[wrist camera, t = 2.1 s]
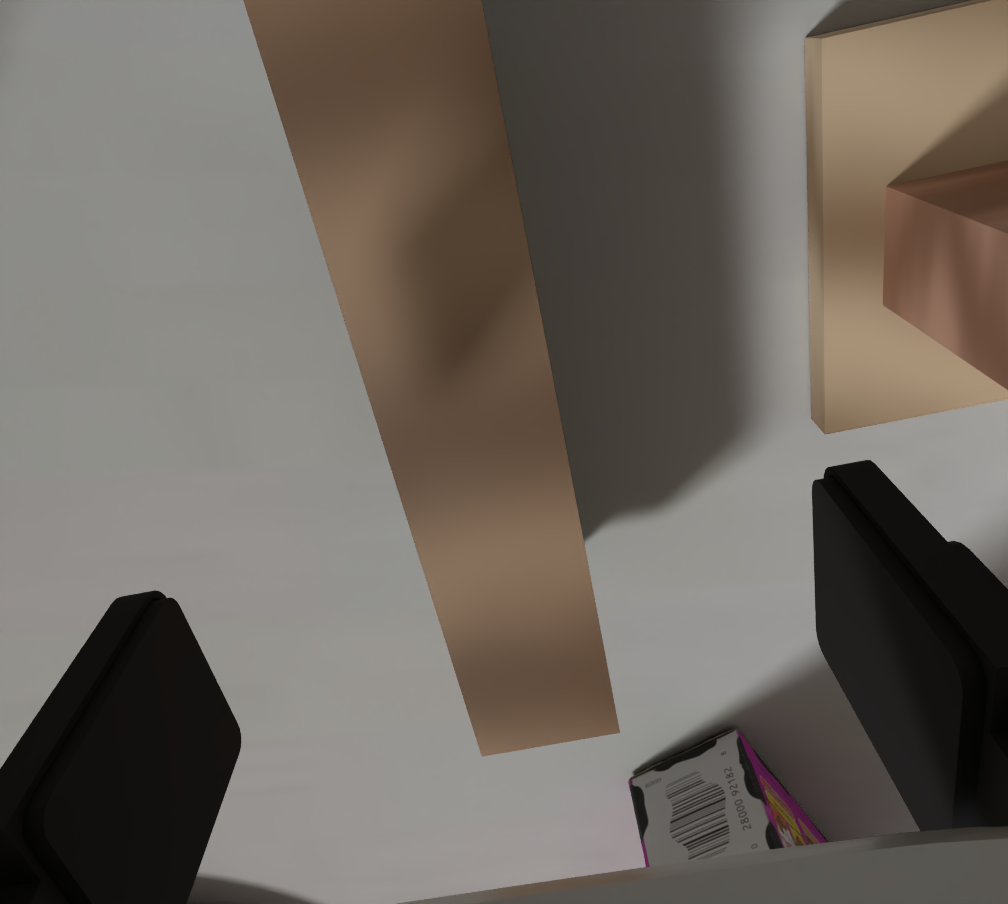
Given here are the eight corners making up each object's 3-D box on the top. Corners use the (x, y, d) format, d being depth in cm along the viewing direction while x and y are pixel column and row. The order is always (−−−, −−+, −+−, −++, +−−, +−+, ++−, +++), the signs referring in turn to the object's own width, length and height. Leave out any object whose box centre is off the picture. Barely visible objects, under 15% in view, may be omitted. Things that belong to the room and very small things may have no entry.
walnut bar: (268, -69, 14) (213, -95, 11) (456, -116, 14) (452, -154, 11) (480, 658, 23) (482, 756, 20) (599, 636, 23) (619, 732, 20)
